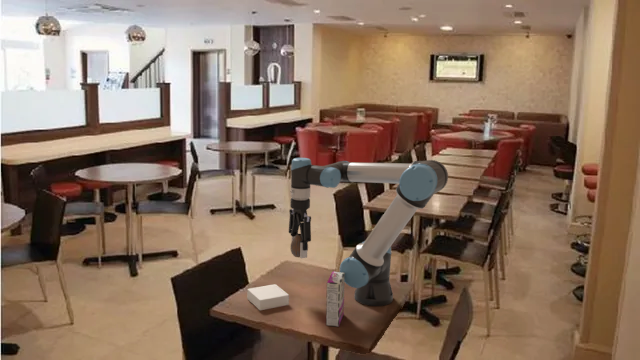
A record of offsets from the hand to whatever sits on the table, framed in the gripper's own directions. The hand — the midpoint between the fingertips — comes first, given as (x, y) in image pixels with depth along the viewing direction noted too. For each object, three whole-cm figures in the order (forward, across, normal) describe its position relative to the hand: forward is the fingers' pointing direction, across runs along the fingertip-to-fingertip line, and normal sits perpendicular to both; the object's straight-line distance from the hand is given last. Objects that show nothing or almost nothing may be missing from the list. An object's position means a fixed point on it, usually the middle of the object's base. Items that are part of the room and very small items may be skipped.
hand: (299, 254), depth 228 cm
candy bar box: (+17, +27, +1) cm, 32 cm away
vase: (+1, 0, 0) cm, 1 cm away
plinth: (+16, +2, -14) cm, 22 cm away
